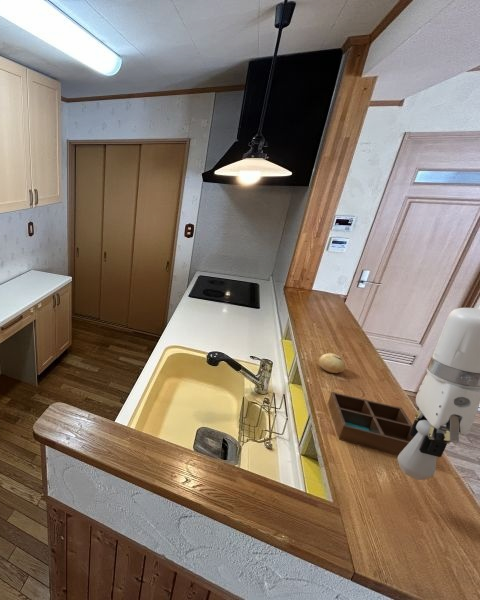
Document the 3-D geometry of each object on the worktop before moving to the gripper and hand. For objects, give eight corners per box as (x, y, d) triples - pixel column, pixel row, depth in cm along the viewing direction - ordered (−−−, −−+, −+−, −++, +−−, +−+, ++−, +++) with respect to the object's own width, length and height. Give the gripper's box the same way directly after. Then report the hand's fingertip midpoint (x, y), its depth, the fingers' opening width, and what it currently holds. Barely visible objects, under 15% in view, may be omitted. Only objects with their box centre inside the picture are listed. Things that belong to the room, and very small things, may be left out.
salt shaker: (405, 480, 69) (426, 432, 65) (388, 459, 74) (406, 413, 70) (438, 486, 68) (462, 437, 63) (419, 464, 73) (439, 417, 68)
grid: (327, 403, 103) (331, 391, 102) (396, 420, 96) (401, 408, 94) (339, 439, 89) (343, 425, 88) (420, 461, 82) (427, 447, 80)
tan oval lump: (318, 372, 120) (323, 355, 118) (315, 362, 127) (319, 346, 124) (344, 378, 117) (350, 361, 114) (340, 367, 123) (345, 351, 121)
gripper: (514, 401, 53) (471, 483, 60) (460, 355, 68) (430, 425, 74) (451, 390, 57) (416, 468, 63) (412, 348, 71) (387, 415, 77)
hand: (424, 444), depth 68 cm, fingers closed on salt shaker, 4 cm apart
